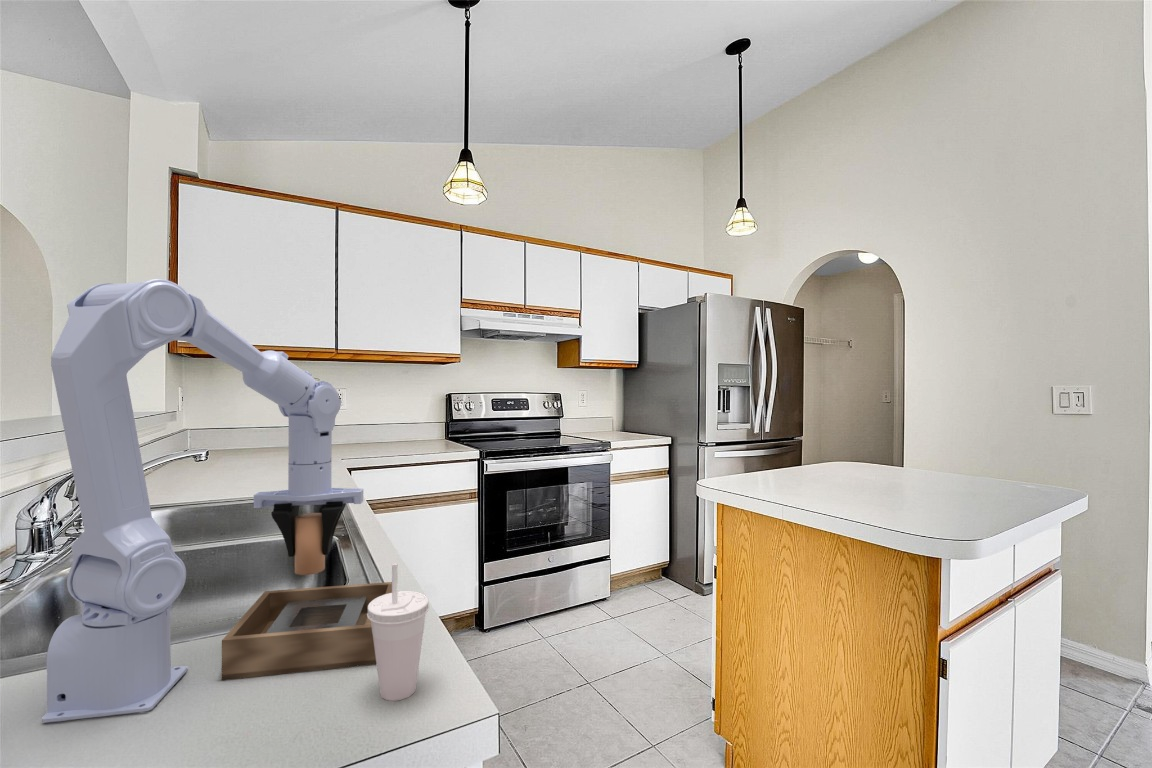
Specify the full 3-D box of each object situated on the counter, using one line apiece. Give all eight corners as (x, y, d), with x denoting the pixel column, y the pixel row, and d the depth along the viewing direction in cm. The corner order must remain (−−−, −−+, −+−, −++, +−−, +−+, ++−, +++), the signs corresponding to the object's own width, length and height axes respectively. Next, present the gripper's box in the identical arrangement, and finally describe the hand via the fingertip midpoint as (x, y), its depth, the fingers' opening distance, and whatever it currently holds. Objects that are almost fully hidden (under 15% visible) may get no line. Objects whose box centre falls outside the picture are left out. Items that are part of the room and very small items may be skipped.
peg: (291, 575, 77) (291, 520, 77) (299, 566, 81) (299, 513, 81) (321, 573, 78) (321, 519, 78) (327, 564, 82) (327, 512, 82)
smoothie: (353, 697, 57) (353, 566, 57) (399, 668, 63) (399, 549, 63) (397, 715, 54) (397, 577, 54) (441, 683, 60) (441, 558, 60)
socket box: (221, 680, 60) (221, 640, 60) (265, 623, 74) (265, 591, 74) (381, 663, 64) (381, 626, 64) (394, 612, 77) (395, 581, 77)
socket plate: (262, 662, 63) (262, 637, 63) (288, 623, 73) (288, 602, 73) (353, 653, 65) (353, 629, 65) (366, 616, 75) (367, 596, 75)
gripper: (366, 456, 85) (366, 542, 85) (265, 459, 82) (265, 548, 82) (358, 463, 78) (358, 557, 78) (247, 466, 75) (247, 563, 75)
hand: (310, 553), depth 79 cm, fingers closed on peg, 4 cm apart
